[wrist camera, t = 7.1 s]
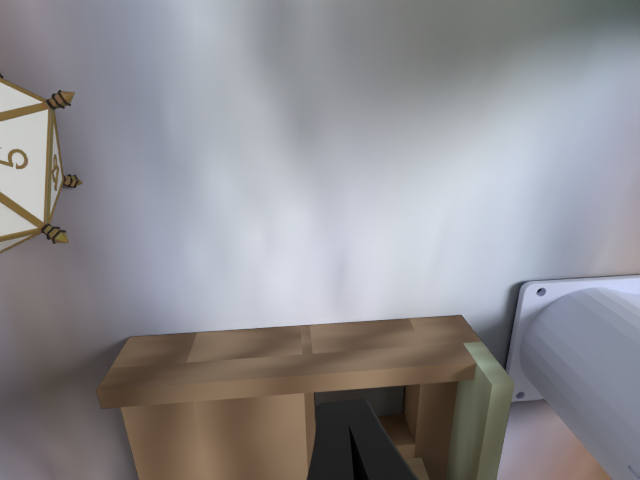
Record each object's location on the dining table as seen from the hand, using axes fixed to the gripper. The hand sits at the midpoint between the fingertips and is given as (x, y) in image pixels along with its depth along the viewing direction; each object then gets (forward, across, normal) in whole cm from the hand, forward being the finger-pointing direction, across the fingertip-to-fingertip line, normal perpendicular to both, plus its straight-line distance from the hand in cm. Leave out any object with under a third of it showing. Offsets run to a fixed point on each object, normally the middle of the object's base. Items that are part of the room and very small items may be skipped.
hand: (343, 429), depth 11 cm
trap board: (+10, +1, +13) cm, 17 cm away
